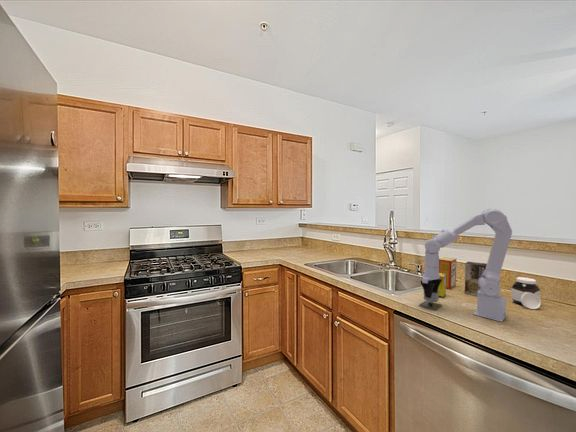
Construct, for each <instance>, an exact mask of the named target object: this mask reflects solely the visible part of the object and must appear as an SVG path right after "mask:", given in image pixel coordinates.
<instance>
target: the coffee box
mask: <svg viewBox="0 0 576 432" xmlns="http://www.w3.org/2000/svg"><path fill="white" fill-rule="evenodd" d="M464 265H465V267H464V275H465V276H464V295H465V294H466V295H470V296H475V297H477V296H478V290H479V289H480V287H479V285H478V279H479V278H480V277H481V276H482V274H483V272H484V270H485V269H486V265H487V263H485V262H477V261H476V262H475V261H466V262H465V264H464Z"/></svg>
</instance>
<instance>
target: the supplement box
mask: <svg viewBox="0 0 576 432" xmlns="http://www.w3.org/2000/svg"><path fill="white" fill-rule="evenodd" d="M439 274H440V278H439V279H441V280H442V282H441V283H440V285H439V287H438V292H439V294H438V298H441V299H444V298H445V296H447V295H446V292H447V291H446V290H447V289H446V274H442V273H439Z"/></svg>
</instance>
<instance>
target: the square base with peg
mask: <svg viewBox="0 0 576 432" xmlns="http://www.w3.org/2000/svg"><path fill="white" fill-rule="evenodd" d="M418 306H419V307H421V308H425V309H428V310H432V311H438V310H439V309H441V308H442V307H443V305H442V304H440V303H437V302H430V301H426V300H424V301H422V302H421V303H419V305H418Z"/></svg>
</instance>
